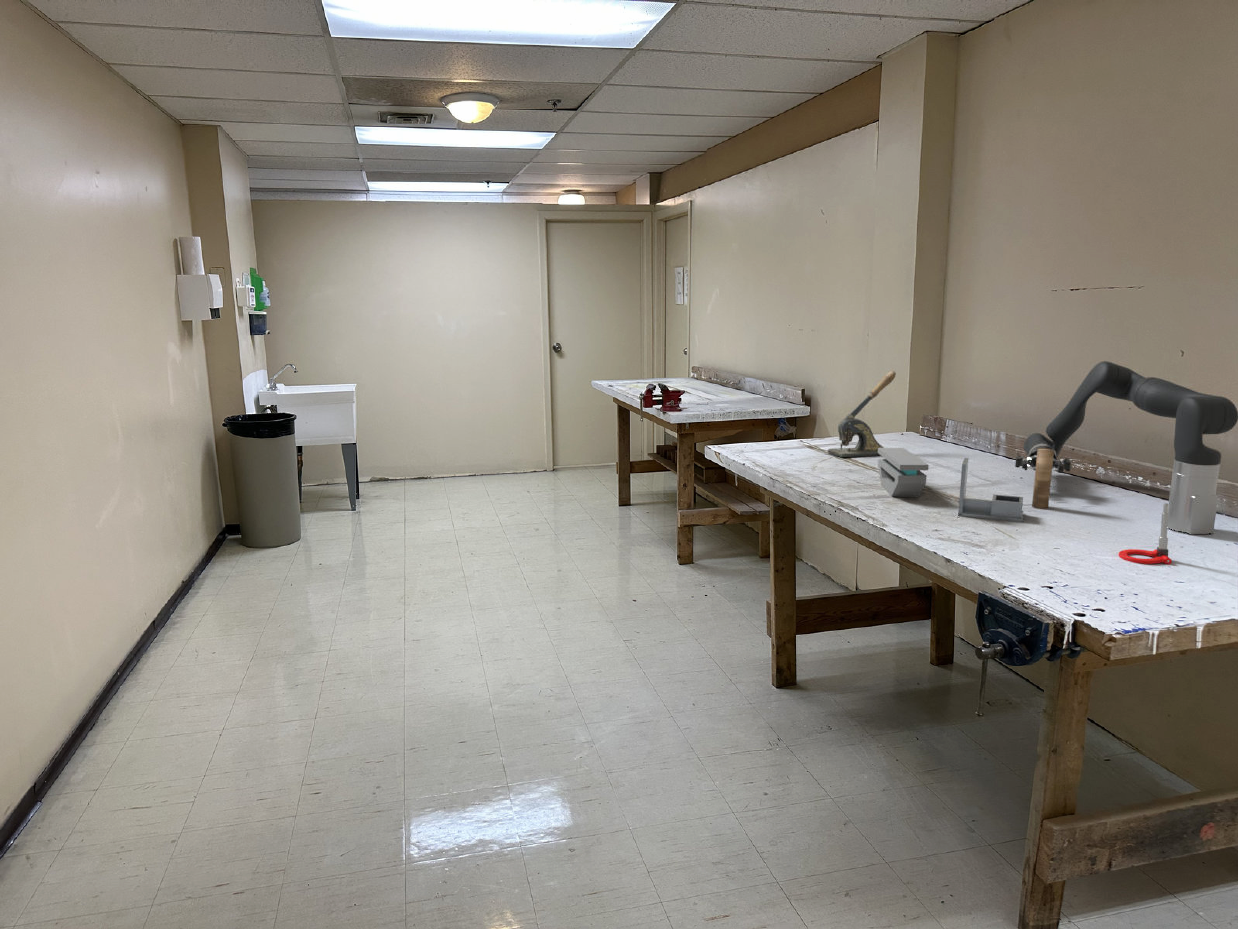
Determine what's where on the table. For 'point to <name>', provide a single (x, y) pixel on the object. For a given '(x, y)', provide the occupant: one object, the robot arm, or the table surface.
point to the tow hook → (1158, 553)
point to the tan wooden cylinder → (1042, 478)
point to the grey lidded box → (901, 472)
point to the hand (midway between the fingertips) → (1042, 468)
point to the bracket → (989, 503)
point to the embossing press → (860, 427)
